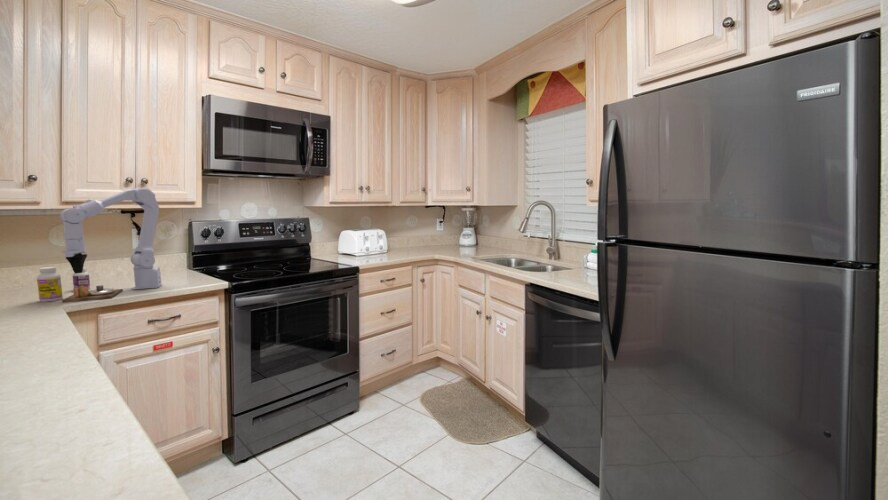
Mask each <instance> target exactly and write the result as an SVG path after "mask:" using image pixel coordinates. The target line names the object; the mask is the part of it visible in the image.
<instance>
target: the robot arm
mask: <svg viewBox="0 0 888 500" xmlns="http://www.w3.org/2000/svg"><path fill="white" fill-rule="evenodd" d="M124 201H132V202H133V203H136V204H137V205H138V206H139V207H141V209H142V210H143V216H142V217H143V218H142V223H141V228H140V233H139V238H138V244H137V246H136V247H135V249H134V252H133V254H131V257H130V262H131V264H132V265H133V266H132V267H133V276H134V278H133V279H134V287H132V288H131V289H132V290H143V289H157V288H160V287H161V286H162V275H161V273H162V272H161V269H160V267H159V266H157V267H155V266H154V264H155V263H156V257H155V251H154V248H153V245H154V241H155V234H156V230H157V224H158V218H159V214H160V213H159V212H160V206H159V204H158V201H157V199H156V194H155V193H154V192H153V191H152V190H151V189H149V188H148V187H134V188H132V189H131V188H130V189H126V190H123V191H120V192H117V193H115V194H113V195H111V196H108V197H105V198H103V199H101V200H97V199H87V200H85V202H83V203H80V204H74V205H72V207H71V208H65V209H63V210H62V211H61V213H60V215H59V219H60V220H61V221H62V223H63V224H62V225H63V237H64V244H65V249H64V250H62V251H61V252H62V253H64V255H65V256H64V257H65V260H67V261H68V263H69V264H70V266H71V269H72V270H73V271H72V272H73V274H74V273H82V271H83V268H84V264H85V261H86V259H87V257H88V254H87V248H86V244H85V243H86V242H85V235H84V227H83V221H84V219H85V220H86V219H88V218H92V217H94V216H96V215H98V214H102V213H103V212H104V210H105V208H108V207H110V206H114V205H116V204H119V203H122V202H124Z"/></svg>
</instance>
